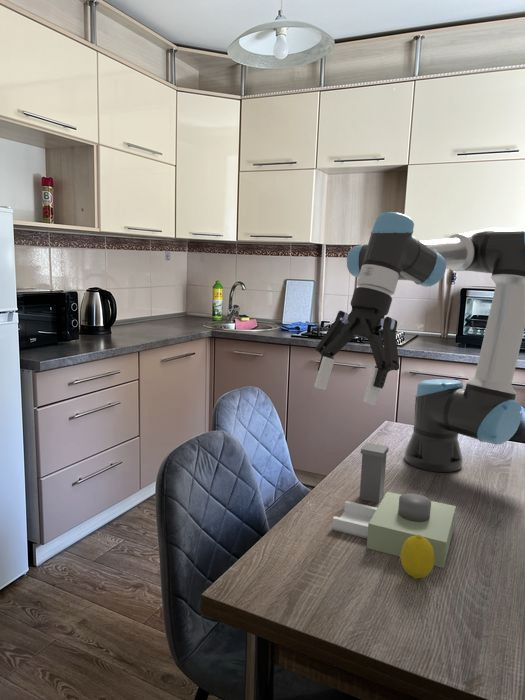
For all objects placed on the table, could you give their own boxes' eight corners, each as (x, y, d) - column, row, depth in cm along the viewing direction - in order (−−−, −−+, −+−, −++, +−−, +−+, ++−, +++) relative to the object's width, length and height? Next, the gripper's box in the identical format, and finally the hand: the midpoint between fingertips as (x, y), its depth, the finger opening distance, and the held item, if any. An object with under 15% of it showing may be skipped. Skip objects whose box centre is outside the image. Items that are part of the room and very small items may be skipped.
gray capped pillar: (357, 498, 120) (360, 449, 118) (363, 490, 125) (366, 442, 123) (380, 503, 118) (383, 453, 116) (385, 495, 122) (388, 446, 120)
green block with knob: (326, 537, 103) (328, 499, 101) (349, 505, 117) (352, 471, 116) (443, 568, 93) (447, 526, 92) (453, 528, 107) (457, 492, 106)
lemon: (434, 590, 87) (438, 545, 85) (399, 585, 88) (403, 541, 86) (430, 571, 92) (434, 529, 91) (398, 567, 93) (401, 525, 92)
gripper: (318, 282, 110) (289, 379, 109) (414, 289, 90) (379, 407, 89) (342, 293, 114) (314, 386, 114) (438, 302, 94) (405, 415, 93)
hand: (342, 396), depth 101 cm, fingers open, 13 cm apart
